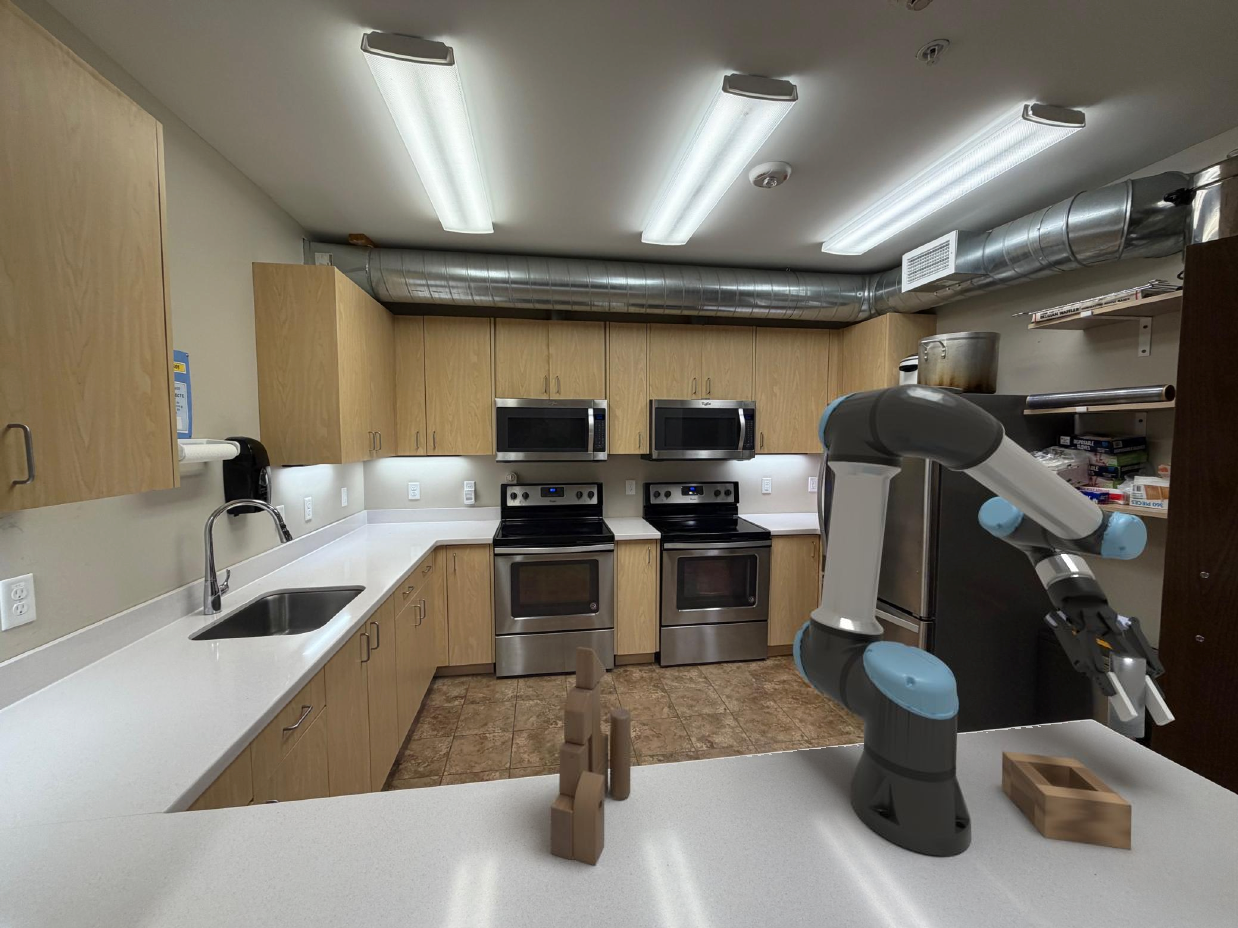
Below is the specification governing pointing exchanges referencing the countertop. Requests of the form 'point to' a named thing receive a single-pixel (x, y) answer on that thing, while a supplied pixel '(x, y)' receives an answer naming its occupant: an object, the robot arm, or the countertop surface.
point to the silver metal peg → (1129, 692)
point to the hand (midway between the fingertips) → (1147, 719)
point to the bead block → (1066, 800)
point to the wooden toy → (588, 765)
